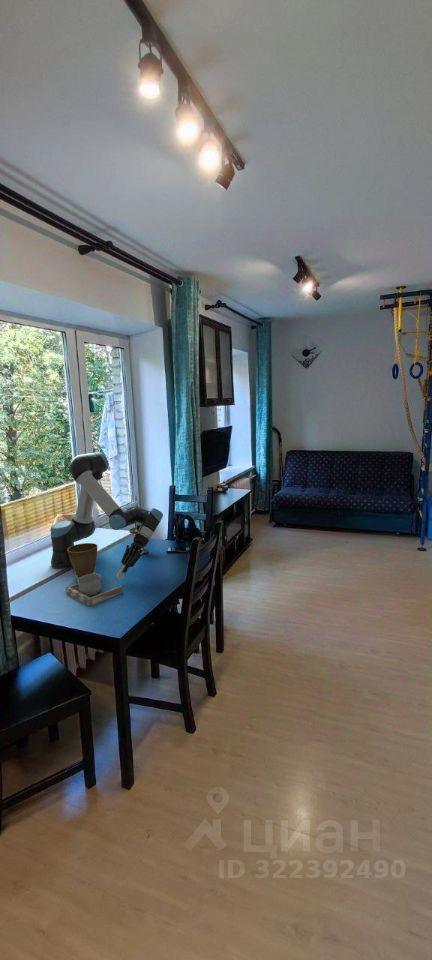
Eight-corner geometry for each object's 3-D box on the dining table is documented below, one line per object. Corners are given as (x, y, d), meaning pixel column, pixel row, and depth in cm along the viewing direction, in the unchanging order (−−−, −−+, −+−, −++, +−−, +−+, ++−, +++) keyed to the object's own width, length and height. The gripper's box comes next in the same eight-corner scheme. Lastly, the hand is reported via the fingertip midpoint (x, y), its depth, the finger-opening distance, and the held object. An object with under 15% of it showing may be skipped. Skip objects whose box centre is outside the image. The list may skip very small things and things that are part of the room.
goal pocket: (66, 593, 214) (65, 587, 214) (98, 581, 226) (98, 576, 226) (90, 605, 200) (89, 599, 199) (122, 592, 212) (122, 586, 212)
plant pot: (106, 575, 234) (103, 546, 231) (80, 584, 224) (77, 554, 221) (90, 569, 244) (87, 540, 241) (65, 577, 234) (61, 548, 231)
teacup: (95, 599, 207) (93, 582, 205) (74, 597, 209) (72, 581, 208) (109, 586, 220) (107, 571, 218) (89, 585, 222) (87, 570, 221)
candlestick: (148, 555, 261) (143, 496, 255) (129, 556, 261) (124, 497, 255) (151, 549, 272) (146, 492, 265) (133, 550, 272) (128, 493, 265)
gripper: (155, 542, 228) (131, 584, 219) (140, 537, 237) (116, 577, 228) (146, 535, 223) (121, 577, 215) (130, 530, 232) (106, 571, 224)
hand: (118, 577), depth 221 cm, fingers closed
